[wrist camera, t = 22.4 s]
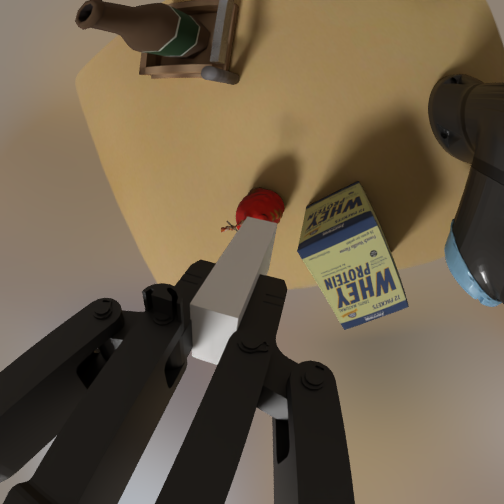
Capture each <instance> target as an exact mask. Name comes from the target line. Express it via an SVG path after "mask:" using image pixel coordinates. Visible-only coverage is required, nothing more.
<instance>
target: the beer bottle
mask: <svg viewBox="0 0 504 504" xmlns="http://www.w3.org/2000/svg"><path fill="white" fill-rule="evenodd" d="M75 22H76V24H77V25H78V27H80V28H82V29H87V28H95V29H99V30H104V31H108V32H112V33H116V34H118V35H120V36H121V37H122V38H123V39H124V41H125V42H126V43H127V45H128V46H129V47H130V48H132V49H133V50H135V51H139V52H144V53H150V54H156V55H161V56H166V57H171V58H184V59H194V58H195V57H196V56H198V55H199V54H200V53H201V52H203V51H204V50H205V49H207V46H208V41H209V37H210V32H209V31H208V30H207V29H206V27H205V26H204V25H203V24H202V23H201V22H200V21H198V20H197V19H195V18H193V17H191V16H189V15H187V14H186V13H184V12H182V11H180V10H178V9H175V8H173V7H171V6H169V5H166V4H163V3H154V4H147V5H141V6H136V7H130V6H125V5H120V4H114V3H109V2H103V1H102V0H89V1H86V2H85V3H84V4H83V5H82V6H81V8H80V9H79V10H78V12H77V16H76V20H75Z"/></svg>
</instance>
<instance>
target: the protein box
mask: <svg viewBox="0 0 504 504" xmlns="http://www.w3.org/2000/svg"><path fill="white" fill-rule="evenodd" d="M297 252H298V253H299V255H300V257H301V258H302V260H303V262H304V263H305V265H306V266H307V268H308V270H309V271H310V273H311V274H312V276H313V277H314V279H315V281H316V282H317V284H318V286H319V287H320V289H321V291H322V292H323V294H324V296H325V298H326V299H327V301H328V303H329V304H330V306H331V308H332V309H333V311H334V313H335V315H336V316H337V318H338V320H339V322H340V323H341V325H342V327H343V328H344V330H346V329H349V328H351V327H354V326H358V325H360V324H363V323H366V322H368V321H371V320H374V319H377V318H379V317H382V316H385V315H388V314H391V313H394V312H396V311H399V310H402V309H404V308H407V307H408V302H407V299H406V295H405V292H404V288H403V285H402V282H401V279H400V276H399V273H398V270H397V267H396V264H395V262H394V259H393V256H392V253H391V251H390V248H389V246H388V243H387V241H386V238H385V236H384V233H383V231H382V228H381V226H380V224H379V222H378V219H377V217H376V215H375V213H374V211H373V209H372V206H371V204H370V202H369V200H368V198H367V196H366V194H365V192H364V190H363V188H362V186H361V184H360V182H359V181H357V182H355V183H353V184H351V185H349V186H347V187H345V188H343V189H341V190H339V191H337V192H335V193H333V194H331V195H329V196H327V197H325V198H323V199H321V200H319V201H317V202H315V203H313V204H311V205H309V206H307V207H306V212H305V216H304V222H303V226H302V231H301V236H300V241H299V246H298V250H297Z"/></svg>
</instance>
